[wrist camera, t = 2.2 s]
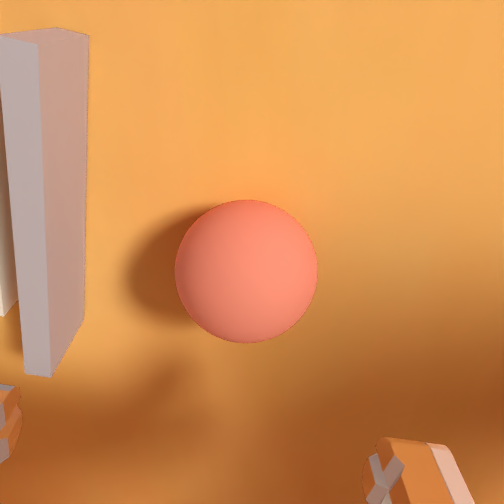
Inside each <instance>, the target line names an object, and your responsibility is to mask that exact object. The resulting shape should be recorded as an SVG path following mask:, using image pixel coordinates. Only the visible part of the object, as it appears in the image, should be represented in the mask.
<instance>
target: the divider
mask: <svg viewBox="0 0 504 504" xmlns="http://www.w3.org/2000/svg"><path fill="white" fill-rule="evenodd" d="M88 52H89V35H85V34H81V33H77V32H73V31H69V30H65V29H61V28H48V29H40V30H31V31H23V32H14V33H5V34H0V89H1V100H2V112H3V124H4V135H5V147H6V159H7V170H8V182H9V194H10V205H11V217H12V229H13V240H14V252H15V264H16V275H17V287H18V299H19V310H20V322H21V334H22V345H23V357H24V369H25V374H31V375H37V376H43V377H49V378H51V377H52V375H53V374H54V372H55V370H56V368H57V367H58V365H59V363H60V361H61V359H62V358H63V356H64V354H65V352H66V351H67V349H68V347H69V345H70V343H71V342H72V340H73V338H74V336H75V335H76V333H77V331H78V329H79V327H80V326H81V324H82V322H83V320H84V287H85V228H86V170H87V111H88Z"/></svg>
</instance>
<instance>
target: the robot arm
mask: <svg viewBox="0 0 504 504" xmlns="http://www.w3.org/2000/svg"><path fill="white" fill-rule="evenodd" d="M20 398H21V394H20V387H16V386H10V385H4V384H0V463H2V462H3V461H5V460H6V459H7V458H9V457H10V455H11V453H12V451H13V449H14V447H15V445H16V443H17V440H18V437H19V434H20V432H21V428H22V421H23V416H22V411H21V410H20V409H19V408H18V407H17V406H16V405H17V404H18V402H19V400H20ZM375 446H376V450H377V453H376V454H374V455H372V456H370V457H368V459H367V461H366V463H365V465H364V469H363V476H362V481H363V490H364V495H365V499H366V501H367V502H368V503H369V504H475V503H474V501H473V498H472V496H471V494H470V492H469V490H468V488H467V485H466V483H465V481H464V479H463V477H462V475H461V473H460V470H459V468H458V466H457V464H456V462H455V460H454V457H453V455H452V453H451V451H450V450H449V449H448V447H447V446H446V445H441V444H434V443H426V442H422V441H415V440H407V439H399V438H391V437H383V438H381V439H379V441H378V442H377V444H376V445H375Z"/></svg>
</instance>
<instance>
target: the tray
mask: <svg viewBox="0 0 504 504" xmlns="http://www.w3.org/2000/svg"><path fill="white" fill-rule="evenodd" d="M17 300H18V287H17V275H16V264H15V252H14V240H13V229H12V217H11V205H10V194H9V182H8V170H7V159H6V147H5V135H4V124H3V112H2V100H1V89H0V316H3V317H4V316H5V315H6V313H7V312H8V311H9V310H10V309H11V307H12V306H13V305H14V304H15V302H16V301H17Z"/></svg>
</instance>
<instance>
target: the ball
mask: <svg viewBox="0 0 504 504" xmlns="http://www.w3.org/2000/svg"><path fill="white" fill-rule="evenodd" d="M317 276H318V268H317V259H316V254H315V251H314V248H313V245H312V242H311V240H310V238H309V237H308V235H307V233H306V232H305V230H304V229H303V228H302V226H301V225H300V224H299V223H298V222H297V221H296V220H295V219H294V218H293V217H292V216H290V215H289V214H288V213H286V212H285V211H283V210H282V209H280V208H278V207H276V206H274V205H271V204H268V203H265V202H261V201H255V200H238V201H232V202H227V203H224V204H221V205H219V206H217V207H215V208H213V209H211V210H209V211H207V212H206V213H205V214H203V215H202V216H201V217H199V218H198V219H197V220H196V221H195V222H194V223H193V225H192V226H191V227H190V228H189V229H188V231H187V232H186V234H185V236H184V237H183V239H182V241H181V244H180V246H179V249H178V252H177V256H176V261H175V283H176V287H177V291H178V295H179V297H180V300H181V302H182V304H183V306H184V307H185V309H186V311H187V312H188V314H189V315H190V316H191V318H192V319H193V320H194V321H195V322H196V323H197V324H198V325H199V326H200V327H202V328H203V329H204V330H206V331H207V332H209V333H210V334H212V335H214V336H216V337H219V338H221V339H224V340H227V341H231V342H237V343H255V342H261V341H265V340H268V339H271V338H274V337H276V336H278V335H280V334H282V333H284V332H285V331H287V330H288V329H289V328H291V327H292V326H293V325H294V324H295V323H296V322H297V321H298V320H299V319H300V318H301V317H302V316H303V314H304V313H305V311H306V310H307V308H308V307H309V305H310V303H311V300H312V298H313V296H314V292H315V289H316V284H317Z"/></svg>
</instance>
